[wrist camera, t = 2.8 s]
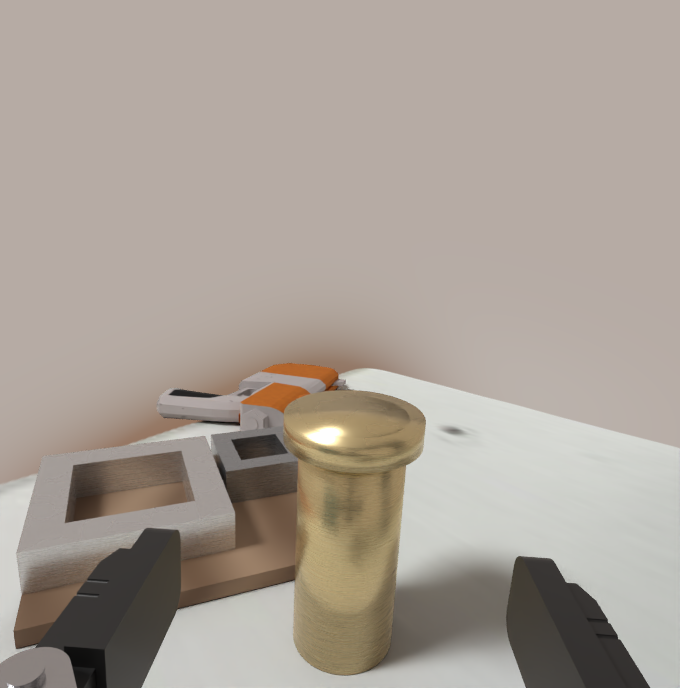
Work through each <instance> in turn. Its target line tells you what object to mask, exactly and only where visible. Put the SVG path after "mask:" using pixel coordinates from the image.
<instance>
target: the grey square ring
mask: <svg viewBox="0 0 680 688" xmlns="http://www.w3.org/2000/svg"><path fill="white" fill-rule="evenodd" d="M283 427H284V426H279V427H271V428H263V429H255V430H246V431H238V432H230V433H222V434H214V435H211V452H212V455H213V457H214V460H215V462H216V465H217V468H218V470H219V473H220V475H221V478H222V480H223V483H224V485H225V488H226V491H227V493H228V496H229V498H230V501H231V503H232V504H233V503H238V502H244V501H249V500H255V499H261V498H266V497H272V496H277V495H283V494H289V493H294V492H297V483H298V458H297V457H295V456H294V455H293V454H292V453H290V452H289V450H288V449H287V448H286V446H285V445H284V441H283Z"/></svg>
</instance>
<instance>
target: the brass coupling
mask: <svg viewBox="0 0 680 688" xmlns="http://www.w3.org/2000/svg"><path fill="white" fill-rule="evenodd" d="M425 424H426V420H425V417H424V415H423V413H422V412H421V411H420V410H419V409H418V408H416V407H415V406H413V405H412V404H410V403H408V402H406V401H403V400H401V399H398V398H395V397H392V396H388V395H384V394H380V393H374V392H367V391H356V390H334V391H324V392H318V393H313V394H309V395H305V396H302V397H300V398H298V399H296V400H294V401H292V402H291V403H290V404H288V406H287V407H286V408H285V410H284V427H283V441H284V445H285V446H286V448H287V449H288V450H289V452H290V453H292V454H293V455H294V456H295V457H297V458H298V483H297V519H296V554H295V590H294V626H293V638H294V643H295V646H296V648H297V650H298V652H299V653H300V655H301V656H302V657H303V658H304V659H305V660H306V661H307V662H308V663H309V664H310V665H312V666H314V667H315V668H317V669H319V670H321V671H324V672H327V673H331V674H336V675H353V674H358V673H362V672H365V671H367V670H370V669H371V668H373V667H375V666H376V665H377V664H379V663H380V662H381V661H382V660H383V659H384V657H385V656H386V654H387V652H388V650H389V647H390V643H391V633H392V622H393V610H394V599H395V587H396V575H397V564H398V552H399V541H400V529H401V518H402V506H403V494H404V483H405V471H406V465H408V464H410V463H411V462H413V461H415V460H416V459H417V458H418V457H419V456H420V455H421V453H422V451H423V445H424V435H425Z"/></svg>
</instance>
